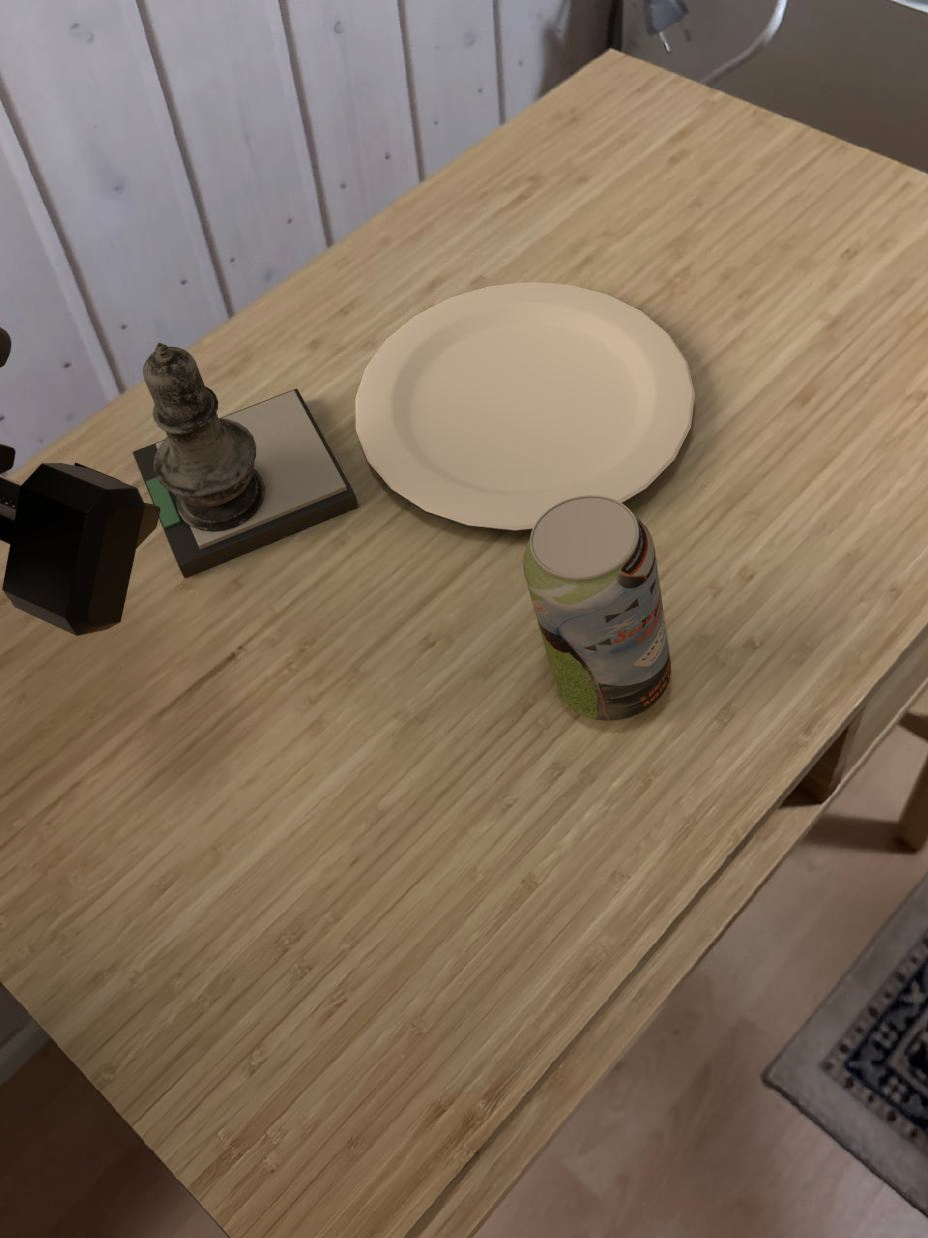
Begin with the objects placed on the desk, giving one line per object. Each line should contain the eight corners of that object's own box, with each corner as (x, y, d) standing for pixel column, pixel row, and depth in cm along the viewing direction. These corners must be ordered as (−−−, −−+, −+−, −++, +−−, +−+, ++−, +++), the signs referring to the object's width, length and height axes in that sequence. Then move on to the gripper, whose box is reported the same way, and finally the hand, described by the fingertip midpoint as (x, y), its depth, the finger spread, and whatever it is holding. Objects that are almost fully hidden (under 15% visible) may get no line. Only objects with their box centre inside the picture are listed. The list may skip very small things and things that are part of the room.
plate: (761, 457, 68) (765, 437, 66) (445, 600, 64) (442, 582, 63) (587, 260, 79) (587, 239, 77) (308, 372, 75) (303, 352, 74)
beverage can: (652, 746, 58) (665, 613, 48) (514, 708, 60) (500, 573, 50) (683, 646, 61) (702, 502, 51) (551, 612, 63) (545, 467, 53)
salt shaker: (190, 550, 66) (120, 401, 56) (159, 483, 69) (87, 330, 59) (285, 510, 67) (232, 356, 57) (250, 445, 70) (194, 288, 60)
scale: (184, 578, 66) (176, 562, 65) (138, 464, 72) (129, 447, 71) (358, 507, 68) (354, 489, 67) (300, 401, 74) (295, 383, 72)
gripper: (15, 355, 37) (276, 379, 51) (-357, 218, 43) (-31, 273, 57) (-40, 670, 40) (222, 610, 54) (-381, 500, 46) (-66, 486, 60)
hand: (82, 486), depth 56 cm, fingers open, 9 cm apart
